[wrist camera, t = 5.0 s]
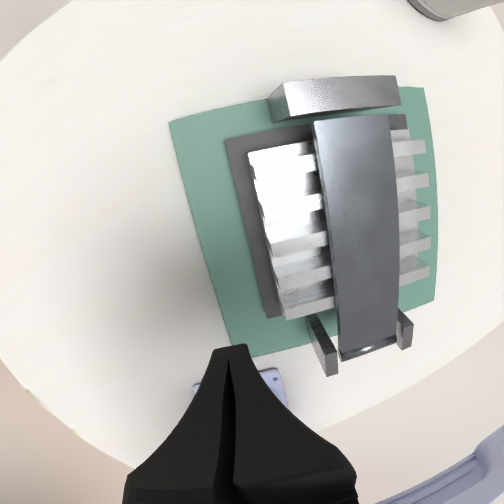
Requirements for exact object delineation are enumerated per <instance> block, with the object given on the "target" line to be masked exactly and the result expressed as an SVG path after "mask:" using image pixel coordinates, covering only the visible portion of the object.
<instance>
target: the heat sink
mask: <svg viewBox="0 0 504 504" xmlns="http://www.w3.org/2000/svg"><path fill="white" fill-rule="evenodd" d="M266 100H267V105H268V109H269V113H270V118H271V122H272V124H273V123H279V122H285V121H291V120H297V119H303V118H310V117H317V116H325V115H333V114H341V113H351V112H361V111H366V110H372V109H378V108H385V107H391V106H398V105H402V104H401V99H400V95H399V90H398V85H397V81H396V77H395V76H348V77H332V78H320V79H310V80H301V81H293V82H285V83H282V84H281V85H280V86H279V87H278V88H277V89H276V90H275V91H274V92H273V93H272V94H271V95H270V96H269V97H268V98H267V99H266ZM390 132H391V139H392V146H393V154H394V163H395V172H396V183H397V195H398V212H399V240H400V271H399V287H400V286H403V285H406V284H409V283H412V282H415V281H417V280H420V279H423V278H426V277H428V276H429V274H430V265H429V264H427V263H426V262H424V261H423V260H421V259H420V258H418V252H421V251H424V250H427V249H430V248H431V237H430V236H428V235H427V234H425V233H423V232H421V231H419V230H418V224H417V222H419V221H422V220H426V219H430V218H431V216H430V205H427V204H424V203H422V202H419V201H416V189H418V188H423V187H428V186H429V177H428V173H426V172H421V171H417V170H414V165H413V156H412V155H413V154H421V153H426V147H425V139H410V134H409V129H393V130H390ZM246 155H247V160H248V164H249V169H250V173H251V177H252V182H253V186H254V191H255V195H256V200H257V204H258V209H259V213H260V218H261V223H262V227H263V232H264V236H265V241H266V246H267V250H268V255H269V260H270V264H271V269H272V274H273V278H274V283H275V288H276V293H277V298H278V302H279V306H280V308H281V311H282V314H283V315H284V316H285V319H286V321H287V320H291V319H295V318H299V317H302V316H305V320H306V327H307V333H308V336H309V338H310V340H311V343H312V345H313V347H314V349H315V352H316V354H317V356H318V358H319V361H320V363H321V365H322V368H323V370H324V372H325V374H326V377H328V376H331V375H335V374H338V360H337V351H336V349H335V347H334V345H333V343H332V341H331V340H330V338H329V336H328V334H327V332H326V330H325V328H324V327H323V325H322V323H321V321H320V319H319V317H318V315H317V314H316V313H317V312H320V311H324V310H327V309H331V308H334V307H336V303H335V291H334V281H333V271H332V261H331V252H330V244H329V236H328V228H327V220H326V213H325V206H324V199H323V193H322V186H321V180H320V174H319V168H318V162H317V157H316V151H315V146H314V141H313V140H309V141H303V142H297V143H292V144H286V145H281V146H276V147H271V148H266V149H261V150H256V151H252V152H247V153H246ZM413 326H414V324H413V323H412V322H411V321H410V320H409V319H408V318H407V317H406V315H405V314H404V313H403V312H402V311H401V310H400V309H399V308H398V316H397V328H396V336H397V342H396V344H397V345H398V346H399V348H400V349H401V350H404V349H406V348H408V347H411V343H412V335H413Z"/></svg>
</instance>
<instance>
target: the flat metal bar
mask: <svg viewBox="0 0 504 504" xmlns="http://www.w3.org/2000/svg"><path fill="white" fill-rule="evenodd" d="M310 125H311V130H312V135H313V141H314V146H315V151H316V157H317V162H318V168H319V174H320V180H321V186H322V193H323V199H324V206H325V213H326V220H327V228H328V236H329V244H330V252H331V261H332V271H333V281H334V291H335V303H336V316H337V331H338V355H339V358H340V360H341V362H344V361H347V360H350V359H353V358H356V357H359V356H361V355H364V354H367V353H370V352H373V351H375V350H378V349H381V348H384V347H386V346H389V345H391V344H394V343H396V342H397V336H396V328H397V316H398V300H399V271H400V240H399V212H398V195H397V183H396V172H395V163H394V154H393V146H392V139H391V132H390V126H389V120H388V114H376V115H364V116H354V117H345V118H336V119H328V120H321V121H314V122H310Z"/></svg>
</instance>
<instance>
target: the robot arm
mask: <svg viewBox="0 0 504 504" xmlns="http://www.w3.org/2000/svg"><path fill="white" fill-rule="evenodd" d="M275 377H277V378H275ZM193 392H194V394H195V396H194V398H193V400H192V402H191V404H190V405H189V407H188V409H187V410H186V412H185V414H184V415H183V417H182V418H181V420H180V421H179V423H178V424H177V426H176V427H175V428H174V430H173V431H172V432H171V434H170V435H169V436H168V437H167V439H166V440H165V441H164V442H163V443H162V444H161V445H160V446H159V447H158V449H157V450H156V451H155V452H154V453H153V454H152V455H151V456H150V457H149V458H148V459H147V460H146V461H144V462H143V463H142V464H141V465H140V466H138V467H137V468H136V469H135V470H134V471H132V472H131V473H130V474H128V475H127V480H126V483H125V487H124V494H123V501H122V504H359V502H358V499H357V498H358V495H357V492H356V489H355V483H356V478H357V475H356V472H355V470H354V468H353V467H352V465H351V464H350V462H349V461H348V459H347V458H346V457H345V456H344V455H343V454H342V452H341V451H340V450H339V449H338V448H337V447H336V446H334V445H333V444H331V443H330V442H328V441H326V440H325V439H323V438H322V437H320V436H319V435H318V434H316V433H315V432H314V431H312V430H311V429H310V428H308V427H307V426H306V425H305V424H304V423H303V422H301V421H300V420H299V419H298V418H297V417H296V416H294V415H293V414H292V413H291V412H290V411H289V410H288V406H287V402H286V398H285V394H284V390H283V385H282V381H281V377H280V373H279V371H278V370H277V369H272V370H268V371H264V372H258V370H257V368H256V367H255V365H254V363H253V361H252V358H251V355H250V352H249V348H248V345H247V344H245V343H242V344H238V345H233V346H228V347H223V348H218V349H214V351H213V352H212V356H211V359H210V361H209V364H208V367H207V369H206V372H205V374H204V377H203V379H202V381H201V384H199V385H195V386H194V387H193ZM503 494H504V425H502V426H501V427H500V428H499V429H497V430H496V431H495V432H493V433H492V434H491V435H489V436H488V437H487V438H485V439H484V440H483V441H482V442H481V443H480V444H479V445H478V446H477V447H476V449H475V450H474V452H473V453H472V454H470V455H469V456H467V457H466V458H464V459H463V460H461V461H460V462H458V463H456V464H455V465H453V466H451V467H449V468H448V469H446V470H445V471H443V472H441V473H439V474H437V475H435V476H434V477H432V478H430V479H428V480H426V481H424V482H422V483H420V484H418V485H416V486H414V487H412V488H410V489H408V490H406V491H404V492H401V493H399V494H397V495H395V496H392V497H390V498H387V499H385V500H383V501H380V502H378V503H375V504H491V503H492V502H494V501H495V500H496V499H498V498H499V497H500V496H501V495H503ZM28 504H30V503H28Z"/></svg>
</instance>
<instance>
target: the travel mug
mask: <svg viewBox="0 0 504 504" xmlns="http://www.w3.org/2000/svg"><path fill="white" fill-rule="evenodd" d="M409 2H410V3H411V4H412V5H413V6H414V7H415V8H416V9H417V10H419V11H420V12H421V13H422V14H424V15H426V16H427V17H429V18H431V19H434V20H437V21H445V20H448V19H451V18H454V17H456V16H459V15H462V14H465V13H468V12H471V11H474V10H477V9H480V8H483V7H487V6H490V5H493V4H497V3H501V2H504V0H409Z"/></svg>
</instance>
